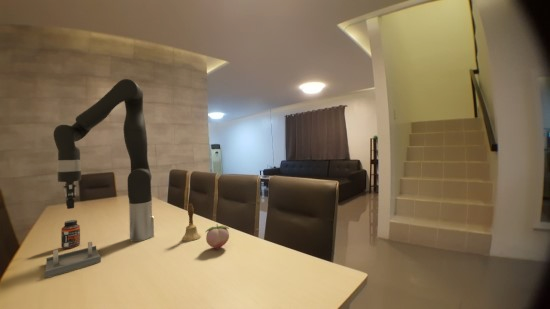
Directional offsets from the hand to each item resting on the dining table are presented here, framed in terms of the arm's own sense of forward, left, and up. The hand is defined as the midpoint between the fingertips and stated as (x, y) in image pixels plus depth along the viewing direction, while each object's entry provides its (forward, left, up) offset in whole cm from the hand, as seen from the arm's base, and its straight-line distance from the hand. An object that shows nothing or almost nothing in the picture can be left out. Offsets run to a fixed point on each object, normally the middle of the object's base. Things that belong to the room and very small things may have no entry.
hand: (70, 207), depth 94 cm
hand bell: (-40, +32, -18) cm, 54 cm away
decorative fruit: (-42, +52, -18) cm, 69 cm away
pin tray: (0, +22, -18) cm, 28 cm away
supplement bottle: (0, 0, -18) cm, 18 cm away
